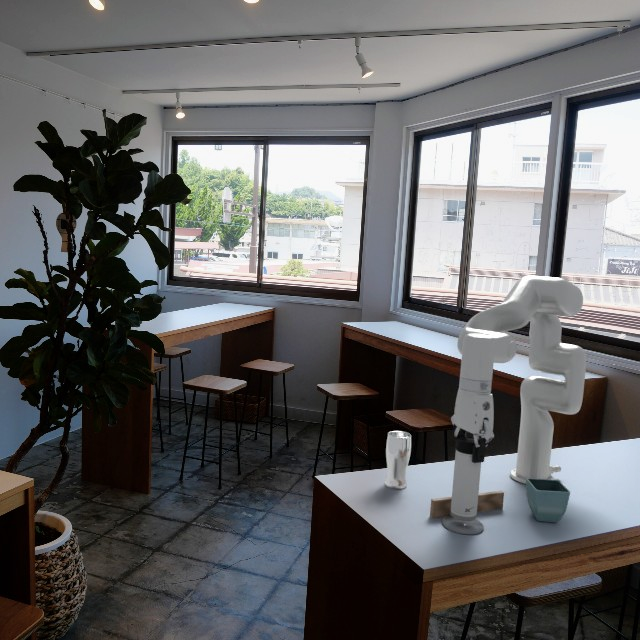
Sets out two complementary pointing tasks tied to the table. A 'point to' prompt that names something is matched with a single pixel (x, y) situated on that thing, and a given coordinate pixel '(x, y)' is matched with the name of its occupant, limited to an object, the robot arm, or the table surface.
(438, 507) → the rail
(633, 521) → the table surface
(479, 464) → the travel mug
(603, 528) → the table surface
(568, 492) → the flower pot
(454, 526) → the grey flat disc
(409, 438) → the beer glass
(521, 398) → the robot arm
